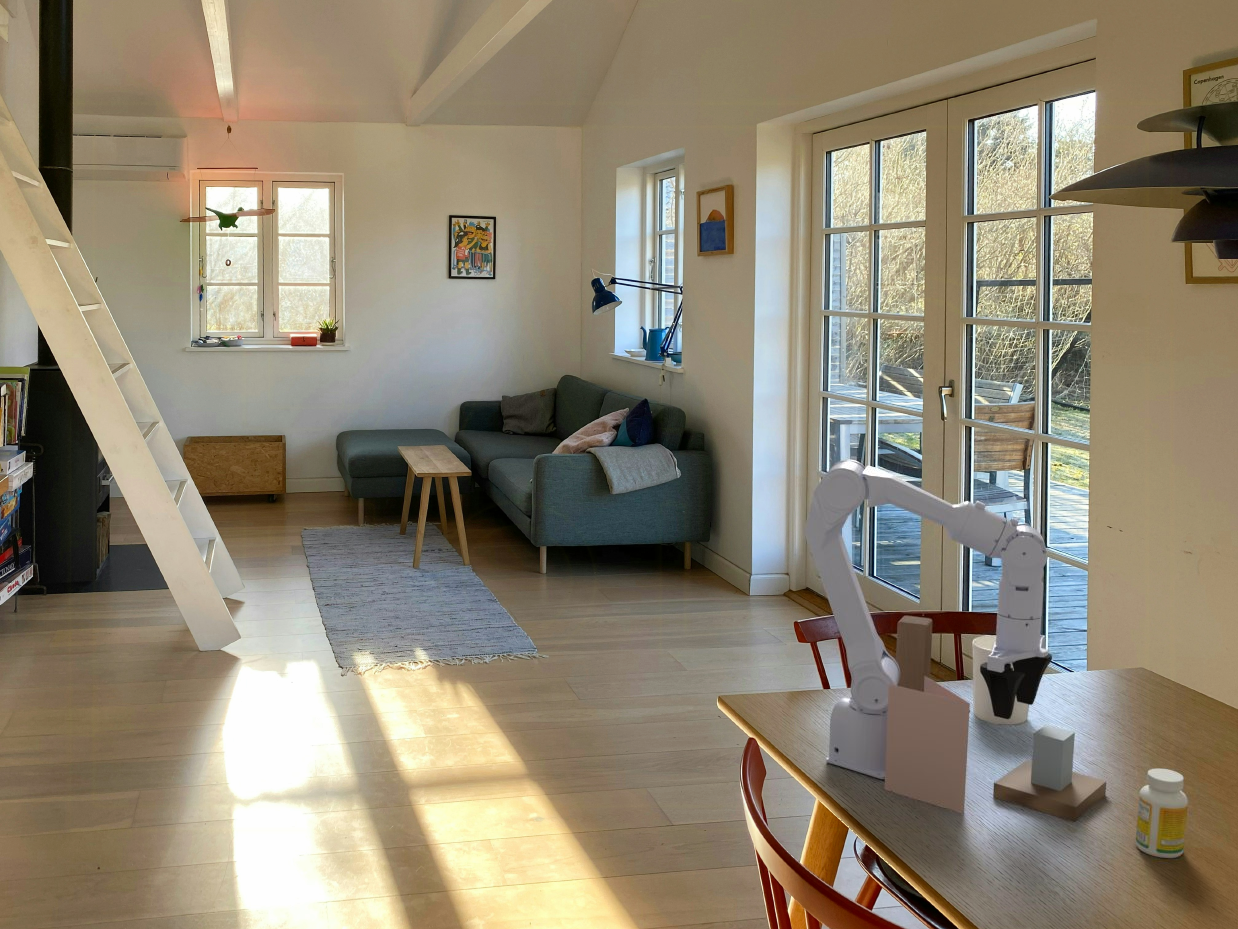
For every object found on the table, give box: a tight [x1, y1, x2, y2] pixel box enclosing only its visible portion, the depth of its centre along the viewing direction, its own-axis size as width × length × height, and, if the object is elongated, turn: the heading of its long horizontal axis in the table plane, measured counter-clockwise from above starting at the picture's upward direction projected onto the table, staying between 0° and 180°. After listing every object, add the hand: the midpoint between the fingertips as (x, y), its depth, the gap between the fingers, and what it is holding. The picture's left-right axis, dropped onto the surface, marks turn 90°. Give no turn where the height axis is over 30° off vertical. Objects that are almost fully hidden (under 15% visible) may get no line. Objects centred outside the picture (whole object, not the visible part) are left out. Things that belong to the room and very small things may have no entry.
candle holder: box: [971, 635, 1030, 726], centre depth 187 cm, size 10×10×12 cm
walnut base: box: [992, 759, 1107, 822], centre depth 157 cm, size 11×11×2 cm
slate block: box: [1031, 724, 1076, 791], centre depth 156 cm, size 4×4×7 cm
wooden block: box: [895, 615, 933, 692], centre depth 178 cm, size 9×4×18 cm, turn 64°
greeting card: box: [884, 676, 971, 815], centre depth 155 cm, size 11×7×15 cm, turn 15°
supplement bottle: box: [1135, 768, 1189, 859], centre depth 141 cm, size 5×5×10 cm
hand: (1013, 709), depth 160 cm, fingers open, 7 cm apart
